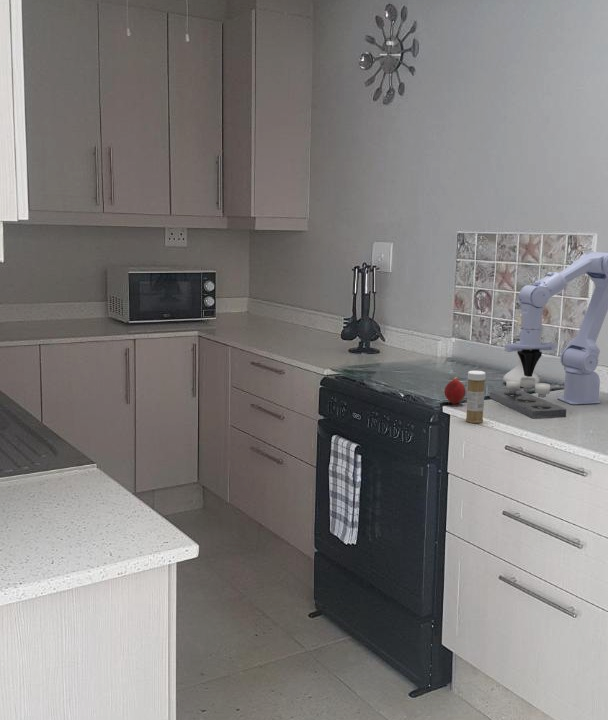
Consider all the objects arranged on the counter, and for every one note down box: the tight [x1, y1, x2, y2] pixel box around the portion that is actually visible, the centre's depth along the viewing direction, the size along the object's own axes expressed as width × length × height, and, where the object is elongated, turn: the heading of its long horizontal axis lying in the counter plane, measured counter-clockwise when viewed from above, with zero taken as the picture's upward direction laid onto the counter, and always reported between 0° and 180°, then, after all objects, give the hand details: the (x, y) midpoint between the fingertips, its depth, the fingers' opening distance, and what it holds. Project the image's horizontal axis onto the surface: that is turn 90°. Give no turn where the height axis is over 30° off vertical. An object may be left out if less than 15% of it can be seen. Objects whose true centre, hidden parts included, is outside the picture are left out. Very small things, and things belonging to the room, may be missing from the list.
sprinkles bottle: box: [465, 370, 486, 424], centre depth 219 cm, size 5×5×14 cm
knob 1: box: [505, 381, 521, 394], centre depth 244 cm, size 4×4×3 cm
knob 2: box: [534, 382, 551, 399], centre depth 229 cm, size 4×4×3 cm
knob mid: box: [520, 377, 535, 392], centre depth 236 cm, size 4×4×3 cm
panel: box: [489, 389, 567, 419], centre depth 237 cm, size 10×25×2 cm, turn 15°
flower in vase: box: [502, 313, 545, 384], centre depth 264 cm, size 13×11×25 cm
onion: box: [444, 376, 466, 405], centre depth 239 cm, size 6×6×8 cm
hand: (528, 376), depth 236 cm, fingers closed
